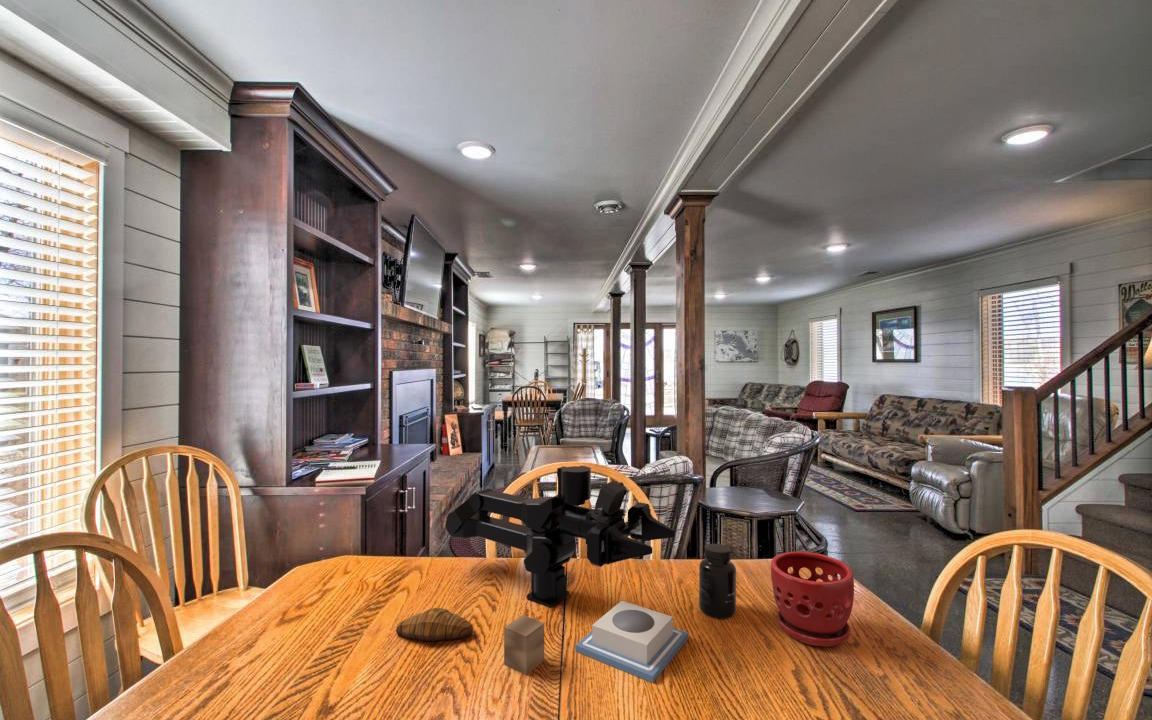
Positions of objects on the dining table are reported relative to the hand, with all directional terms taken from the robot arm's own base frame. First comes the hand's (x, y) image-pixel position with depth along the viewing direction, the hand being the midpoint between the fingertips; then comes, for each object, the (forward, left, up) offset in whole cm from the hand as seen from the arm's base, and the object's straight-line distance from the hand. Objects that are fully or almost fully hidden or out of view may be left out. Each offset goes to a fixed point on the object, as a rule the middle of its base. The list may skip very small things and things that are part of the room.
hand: (663, 541), depth 85 cm
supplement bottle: (+5, +14, -17) cm, 22 cm away
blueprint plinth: (-3, -5, -17) cm, 18 cm away
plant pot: (+21, +16, -17) cm, 31 cm away
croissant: (-33, -22, -17) cm, 43 cm away
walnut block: (-15, -19, -17) cm, 30 cm away
